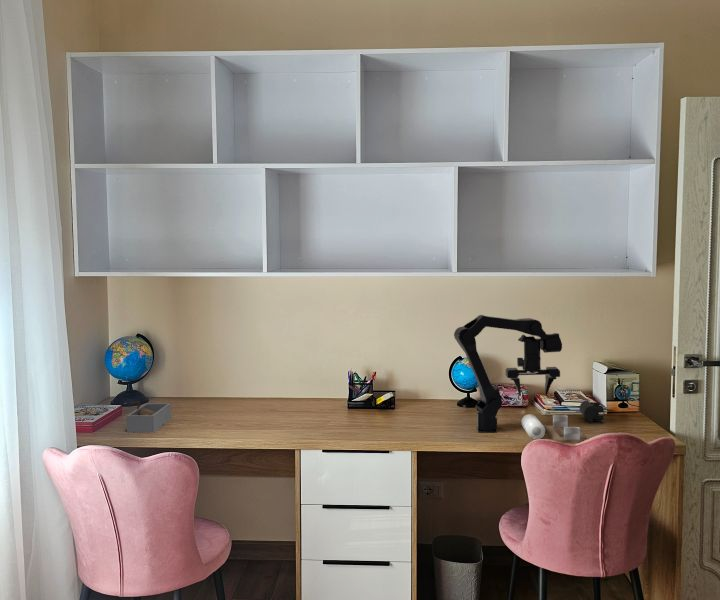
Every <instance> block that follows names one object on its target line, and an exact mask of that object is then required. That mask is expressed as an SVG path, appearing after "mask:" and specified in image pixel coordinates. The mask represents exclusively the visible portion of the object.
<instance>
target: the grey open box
mask: <svg viewBox="0 0 720 600" xmlns="http://www.w3.org/2000/svg"><path fill="white" fill-rule="evenodd" d="M133 404H136V405H137V408H136V409H139V407H141V406H140V405H141V401H139V400H136V401H133V402H131V403H130V404H129V406H128V408H130V406H132V405H133ZM154 413H155V412H153V411H151V410H149V409H146V408H143V409H140V410H139V415H153V414H154ZM162 425H163V426H164V425H166V423H164V422H163V423H162Z"/></svg>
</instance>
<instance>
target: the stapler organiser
mask: <svg viewBox="0 0 720 600" xmlns="http://www.w3.org/2000/svg"><path fill="white" fill-rule="evenodd" d="M143 408H146V409H149V410H151V411H153V412H155V413H154V414H153V415H139V410H140V409H143ZM125 417H126V418H125V419H126V433H155V432H157V430H159V429H160V428H162V427H163V426H164V425H162V423H163V422H164V423H165V424H167V423H168V422H169V421H170V420H171V419H172V403H163V402H162V403H156V402H154V403H151V402H150V403H148V402H147V403H144V404H142V405H141V406H139V409H137V408H136V409H135V410H133V411H132V412H130V413H128V414H126V415H125Z"/></svg>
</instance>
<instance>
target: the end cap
mask: <svg viewBox="0 0 720 600" xmlns="http://www.w3.org/2000/svg"><path fill="white" fill-rule="evenodd" d="M604 411H605V408H604V406H603V405H601V403H600V402H599V401H598V402H595V401H593V402H592V401H589V400H584V401H582V402H581V403H580V405H579V412H580V413H581V415H582V416H583V417H584V418H585V419H586V420H587V422H589V423H590V424H604V421H603V420H604V415H600V414H599V413H604Z"/></svg>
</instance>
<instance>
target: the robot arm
mask: <svg viewBox="0 0 720 600" xmlns="http://www.w3.org/2000/svg"><path fill="white" fill-rule="evenodd" d="M485 328H494V329H495V328H496V329H502V330H503V329H504V330H510V331H511V330H513V331H517V332H520V333H523V334H521V336H520V337H518V339H517V341H518V342H521V343H523V357H517V358H516V359H517V360H516V361H517V364H516V365H517V367H518V368H519V367H520V368H522V369H518V368H517V367H506V368H505V376H506V378H508V379H510V381H513V382H514V384H515V387H516V390H517V393H518V396H519V397H522V390H521V381H520V378H519V376H537V375H538V376H539V375H541V376H543V375H545V376H544V378H545V383H544V396H545V397H546V396H547V395H548V394H549V390H550V388H551V386H552V384H553V383H554V380H557V378H560V377H561V370H560V369H559V368H558V367H556V366H546V367H545V368H544V369H541V360H542V359H541V351H542V352H543V353H544V354H545V353H560V352H561V351H562V350H563V342H562V339H561V337H560V333H558V332H554V333H546V331H545V330H544V329H543V325H542V322H541V321H539V319H538V320H537V319H533V318H532V317H531V318H530V317H529V318H528V317H527V318H526V317H524V318H516V319H512V318H506V317H505V318H504V317H495V316H488V315H484V314H479V315H477V317H475V318H474V319H472V320H471V321H469V322H467V323H466V324H465V325H463V326H459V327H457V328H456V329H455V330H454V334H453V336H454V340H455V341H456V342H457V344H458V345H459V347H460V348H461V350H462V351H463V352H464V353H465V356H466V358H467V361H468V363H469V366H470V367H471V371H472V373H473V374H474V376H475V380H476V382H477V384H478V387H479V395H480V396H479V397H480V400H479V401H478V403H476V405H475V410H476V411H477V413H476V430H477V432H478V433H497V430H498V418H497V414H498V412H499V410H500V409H501V408H502V406H503V399H504V397H502V394H501V393H500V389H499V388H498V387H497V386H495V385H492V384H491V383H492V382H491V381H490V379H489V376H488V374H487V372H486V369H485V366H484V365H483V362H482V360H481V358H480V355H479V352H478V350H477V341H476V337H477V336H479V335H480V333H482V331H483V330H484V329H485ZM525 334H527V335H530V336H526V335H525ZM535 336H536V337H538V338H535Z"/></svg>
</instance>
